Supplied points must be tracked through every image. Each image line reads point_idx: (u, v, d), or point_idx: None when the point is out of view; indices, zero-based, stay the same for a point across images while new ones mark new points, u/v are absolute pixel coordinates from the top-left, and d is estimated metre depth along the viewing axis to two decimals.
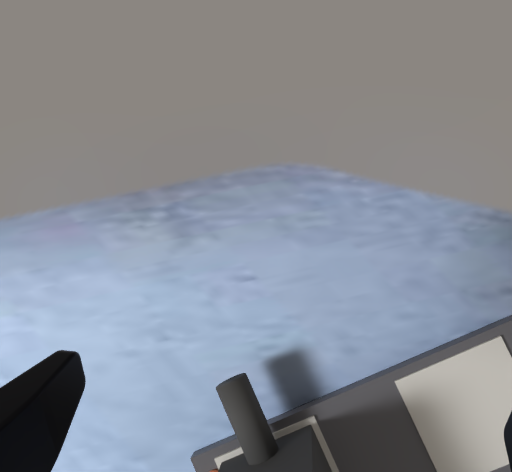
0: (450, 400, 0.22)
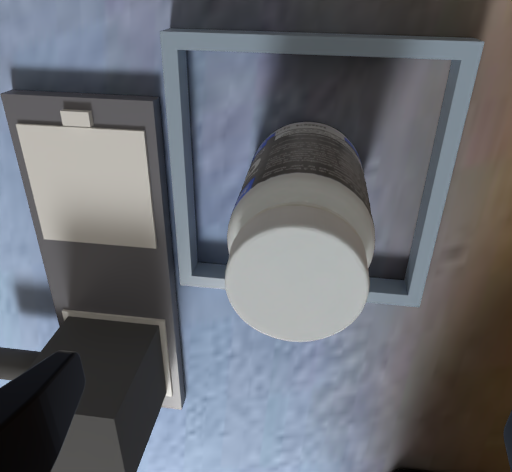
0: (72, 203, 0.21)
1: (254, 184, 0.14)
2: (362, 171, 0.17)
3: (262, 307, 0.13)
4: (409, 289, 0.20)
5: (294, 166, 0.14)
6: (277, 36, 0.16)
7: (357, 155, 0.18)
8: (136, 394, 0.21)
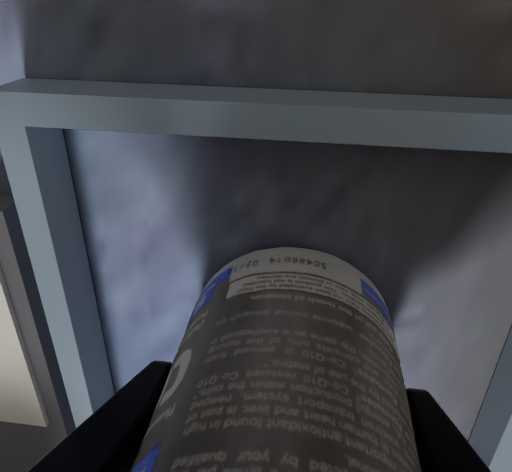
0: None
1: None
2: (397, 357, 0.09)
3: None
4: None
5: (247, 463, 0.05)
6: (223, 104, 0.08)
7: (386, 316, 0.09)
8: None
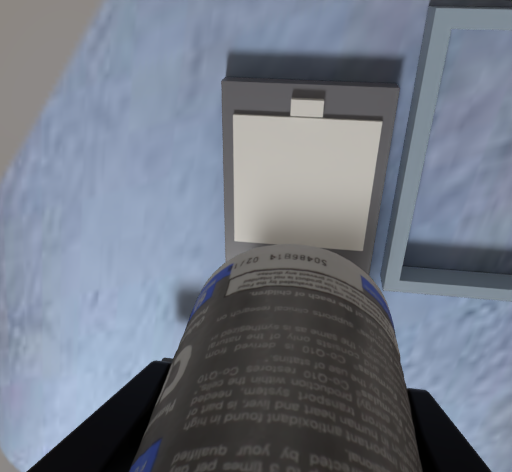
0: (277, 201, 0.19)
1: None
2: (397, 353, 0.09)
3: None
4: None
5: (247, 457, 0.05)
6: None
7: (386, 313, 0.09)
8: None
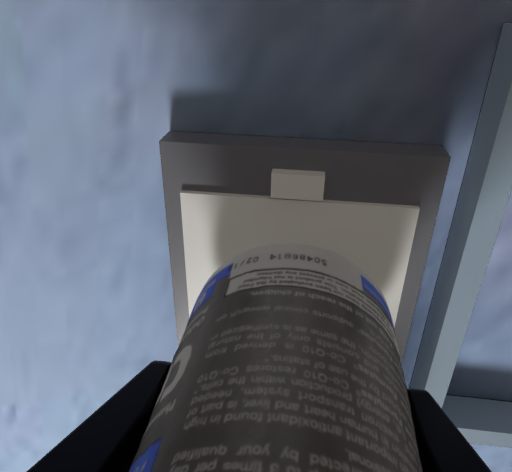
0: None
1: None
2: (397, 353, 0.09)
3: None
4: None
5: (247, 456, 0.05)
6: None
7: (386, 313, 0.09)
8: None
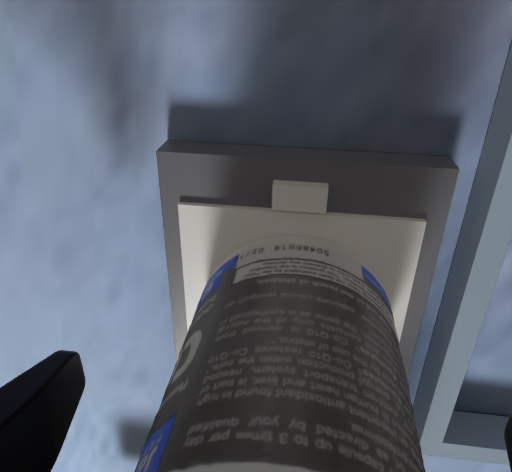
0: None
1: (164, 462, 0.06)
2: (396, 339, 0.09)
3: None
4: None
5: (258, 427, 0.06)
6: None
7: (385, 301, 0.10)
8: None
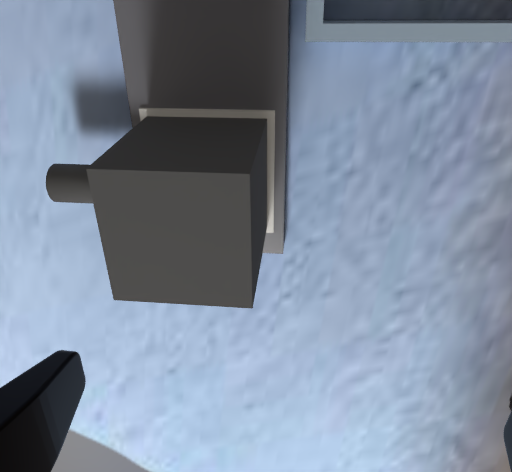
0: None
1: None
2: None
3: None
4: None
5: None
6: None
7: None
8: (258, 177, 0.16)
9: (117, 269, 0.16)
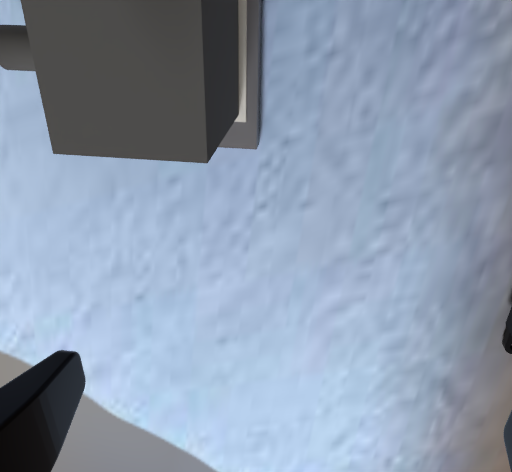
0: None
1: None
2: None
3: None
4: None
5: None
6: None
7: None
8: (218, 14, 0.14)
9: (55, 111, 0.14)
